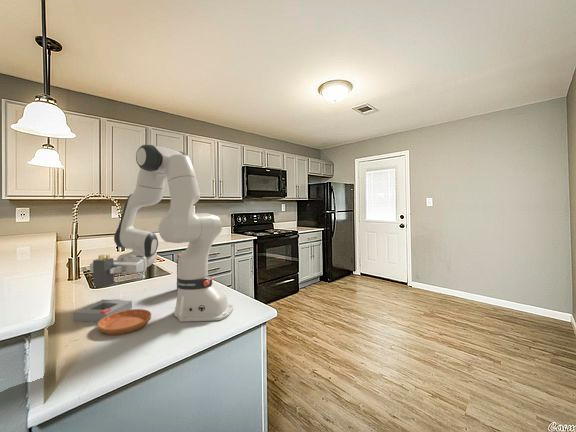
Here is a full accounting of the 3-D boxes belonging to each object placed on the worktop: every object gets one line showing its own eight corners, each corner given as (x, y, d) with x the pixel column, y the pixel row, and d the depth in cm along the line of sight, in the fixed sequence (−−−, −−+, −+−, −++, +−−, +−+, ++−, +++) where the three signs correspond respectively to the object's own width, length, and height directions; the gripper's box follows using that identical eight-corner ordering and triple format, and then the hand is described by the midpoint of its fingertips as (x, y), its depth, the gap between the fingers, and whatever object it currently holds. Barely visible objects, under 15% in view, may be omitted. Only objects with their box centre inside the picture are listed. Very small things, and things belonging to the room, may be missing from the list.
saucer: (157, 327, 90) (157, 318, 90) (101, 343, 79) (101, 333, 79) (144, 312, 102) (144, 305, 101) (94, 325, 91) (94, 317, 91)
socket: (132, 308, 105) (131, 299, 105) (106, 322, 93) (106, 312, 92) (102, 306, 107) (102, 297, 107) (73, 320, 94) (73, 310, 94)
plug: (113, 283, 101) (113, 253, 101) (104, 287, 97) (104, 255, 96) (103, 283, 102) (102, 253, 101) (93, 286, 97) (92, 255, 97)
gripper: (105, 255, 113) (76, 262, 99) (149, 256, 111) (126, 263, 97) (105, 269, 113) (77, 278, 99) (149, 271, 111) (126, 280, 97)
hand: (101, 271), depth 98 cm, fingers closed on plug, 4 cm apart
